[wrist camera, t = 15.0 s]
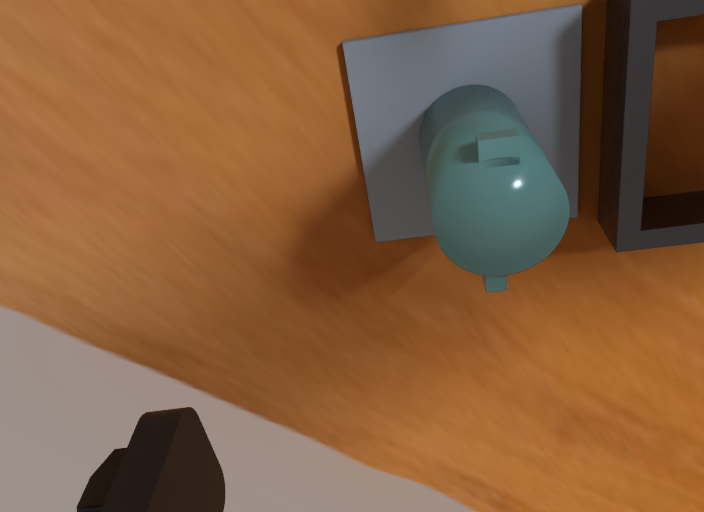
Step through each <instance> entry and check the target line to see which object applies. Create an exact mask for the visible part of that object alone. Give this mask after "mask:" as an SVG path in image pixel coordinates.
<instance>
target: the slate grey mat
mask: <svg viewBox="0 0 704 512" xmlns="http://www.w3.org/2000/svg"><path fill="white" fill-rule="evenodd" d="M581 38H582V5H581V4H575V5H568V6H562V7H556V8H550V9H543V10H537V11H531V12H525V13H518V14H512V15H506V16H499V17H493V18H487V19H481V20H474V21H468V22H462V23H456V24H449V25H443V26H437V27H430V28H424V29H418V30H412V31H405V32H399V33H393V34H387V35H380V36H374V37H368V38H361V39H355V40H349V41H343V43H342V44H343V50H344V56H345V62H346V68H347V74H348V80H349V86H350V92H351V98H352V104H353V110H354V116H355V122H356V128H357V134H358V140H359V146H360V152H361V158H362V164H363V170H364V176H365V182H366V188H367V194H368V200H369V206H370V212H371V218H372V224H373V230H374V236H375V242H382V241H391V240H399V239H407V238H415V237H423V236H431V235H435V231H434V225H433V219H432V213H431V207H430V201H429V195H428V189H427V183H426V178H425V172H424V166H423V160H422V154H421V148H420V142H419V133H420V127H421V123H422V120H423V118H424V115H425V114H426V112H427V110H428V109H429V107H430V106H431V105H432V104H433V103H434V102H435V100H436V99H438V98H439V97H440V96H441V95H443V94H444V93H446V92H448V91H450V90H452V89H454V88H457V87H460V86H465V85H473V84H476V85H485V86H489V87H492V88H495V89H497V90H499V91H501V92H502V93H504V94H505V95H506V96H507V97H509V98H510V99H511V101H512V102H513V103H514V104H515V106H516V108H517V109H518V111H519V113H520V114H521V116H522V118H523V119H524V121H525V123H526V124H527V126H528V128H529V129H530V131H531V133H532V134H533V136H534V138H535V139H536V141H537V143H538V145H539V146H540V148H541V150H542V151H543V153H544V155H545V156H546V158H547V160H548V161H549V163H550V165H551V166H552V168H553V170H554V171H555V173H556V175H557V176H558V178H559V180H560V181H561V183H562V185H563V187H564V188H565V191H566V193H567V196H568V200H569V210H570V213H569V218H577V217H578V178H579V131H580V85H581Z"/></svg>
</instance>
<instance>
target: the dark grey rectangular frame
mask: <svg viewBox="0 0 704 512" xmlns="http://www.w3.org/2000/svg"><path fill="white" fill-rule="evenodd" d="M703 14H704V0H607V10H606V35H605V60H604V85H603V110H602V135H601V160H600V185H599V209H598V222H599V224H600V226H601V227H602V229H603V231H604V232H605V234H606V236H607V237H608V239H609V241H610V243H611V244H612V246H613V248H614V249H615V251H616V252H623V251H632V250H641V249H649V248H658V247H666V246H675V245H683V244H692V243H700V242H704V191H697V192H689V193H681V194H673V195H666V196H658V197H650V198H643V192H644V180H645V167H646V155H647V142H648V130H649V117H650V104H651V92H652V79H653V67H654V54H655V42H656V29H657V22H658V21H664V20H671V19H677V18H684V17H690V16H696V15H703Z"/></svg>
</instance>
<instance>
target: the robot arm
mask: <svg viewBox="0 0 704 512" xmlns="http://www.w3.org/2000/svg"><path fill="white" fill-rule="evenodd" d="M224 504H225V482H224V477H223V472H222V469H221V466H220V464H219V462H218V459H217V457H216V455H215V453H214V450H213V448H212V446H211V444H210V441H209V439H208V437H207V434H206V432H205V430H204V428H203V425H202V423H201V421H200V419H199V416H198V414H197V413H196V411H195V410H194V409H193V408H191V407H186V408H178V409H170V410H162V411H155V412H147V413H145V414H143V415H142V416H141V418H140V419H139V421H138V423H137V425H136V428H135V430H134V433H133V435H132V437H131V440H130V442H129V445H128V447H127V448H121V449H115V450H114V451H113V452H112V453H111V454H110V455H109V456H108V458H107V459H106V460H105V461H104V462H103V463H102V464H101V466H100V467H99V468H98V469H97V470H96V471H95V473H94V474H93V475H92V476H91V477H90V479H89V482H88V484H87V486H86V488H85V490H84V492H83V495H82V497H81V499H80V501H79V503H78V505H77V512H223V510H224Z"/></svg>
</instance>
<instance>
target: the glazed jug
mask: <svg viewBox="0 0 704 512" xmlns="http://www.w3.org/2000/svg"><path fill="white" fill-rule="evenodd" d="M419 142H420V148H421V154H422V160H423V166H424V172H425V178H426V183H427V189H428V195H429V201H430V207H431V213H432V219H433V225H434V231H435V236H436V239H437V242H438V244H439V246H440V248H441V249H442V251H443V252H444V254H445V255H446V256H447V257H448V258H449V259H450V260H451V261H452V262H453V263H455V264H456V265H458V266H459V267H461V268H463V269H465V270H467V271H469V272H472V273H475V274H479V275H482V278H483V282H484V286H485V290H486V293H487V292H497V291H507V275H511V274H515V273H518V272H521V271H524V270H526V269H529V268H531V267H533V266H534V265H536V264H538V263H539V262H541V261H542V260H543V259H545V258H546V257H547V256H548V255H549V254H550V253H551V252H552V251H553V250H554V249H555V248H556V246H557V245H558V244H559V242H560V241H561V239H562V237H563V236H564V233H565V231H566V228H567V225H568V221H569V213H570V210H569V200H568V196H567V193H566V191H565V188H564V187H563V185H562V183H561V181H560V180H559V178H558V176H557V175H556V173H555V171H554V170H553V168H552V166H551V165H550V163H549V161H548V160H547V158H546V156H545V155H544V153H543V151H542V150H541V148H540V146H539V145H538V143H537V141H536V139H535V138H534V136H533V134H532V133H531V131H530V129H529V128H528V126H527V124H526V123H525V121H524V119H523V118H522V116H521V114H520V113H519V111H518V109H517V108H516V106H515V104H514V103H513V102H512V101H511V99H510V98H509V97H507V96H506V95H505V94H504V93H502V92H501V91H499V90H497V89H495V88H492V87H489V86H485V85H476V84H473V85H465V86H460V87H457V88H454V89H452V90H450V91H448V92H446V93H444V94H443V95H441V96H440V97H439V98H438V99H436V100H435V102H434V103H433V104H432V105H431V106H430V107H429V109H428V110H427V112H426V114H425V115H424V118H423V120H422V123H421V127H420V133H419Z"/></svg>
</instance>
